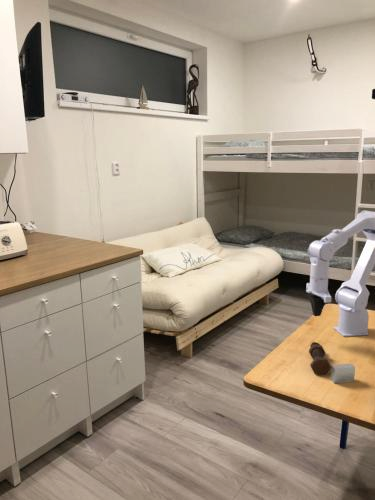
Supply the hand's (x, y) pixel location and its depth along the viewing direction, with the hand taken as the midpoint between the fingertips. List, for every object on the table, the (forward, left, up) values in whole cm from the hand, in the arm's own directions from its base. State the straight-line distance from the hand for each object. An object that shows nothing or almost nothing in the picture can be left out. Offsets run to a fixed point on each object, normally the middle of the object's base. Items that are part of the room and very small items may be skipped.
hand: (316, 315), depth 138 cm
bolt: (+6, +14, -10) cm, 18 cm away
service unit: (+4, +25, -9) cm, 27 cm away
